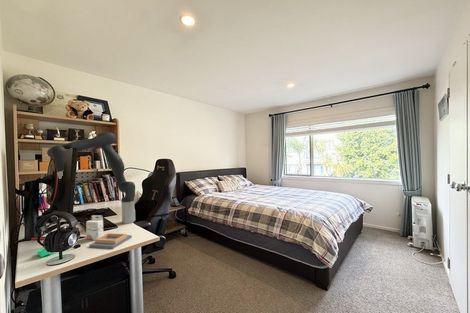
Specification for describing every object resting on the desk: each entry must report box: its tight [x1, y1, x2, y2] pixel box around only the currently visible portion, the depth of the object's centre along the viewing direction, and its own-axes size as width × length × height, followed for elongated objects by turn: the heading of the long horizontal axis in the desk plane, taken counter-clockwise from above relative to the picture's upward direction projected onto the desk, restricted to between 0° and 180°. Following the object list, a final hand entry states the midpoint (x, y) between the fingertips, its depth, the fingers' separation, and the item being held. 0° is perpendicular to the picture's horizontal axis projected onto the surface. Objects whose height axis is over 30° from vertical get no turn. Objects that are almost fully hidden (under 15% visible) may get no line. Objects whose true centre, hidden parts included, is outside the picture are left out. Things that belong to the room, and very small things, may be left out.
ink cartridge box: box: [85, 214, 104, 241], centre depth 134 cm, size 9×5×15 cm, turn 84°
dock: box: [89, 232, 133, 249], centre depth 127 cm, size 16×16×4 cm
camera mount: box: [37, 247, 58, 258], centre depth 116 cm, size 12×8×10 cm, turn 147°
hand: (76, 201), depth 128 cm, fingers open, 8 cm apart
